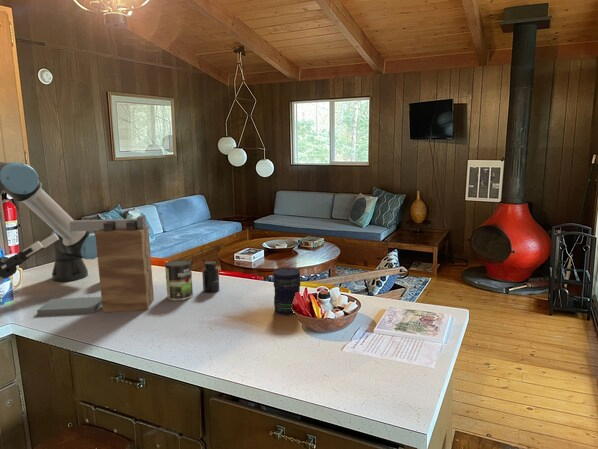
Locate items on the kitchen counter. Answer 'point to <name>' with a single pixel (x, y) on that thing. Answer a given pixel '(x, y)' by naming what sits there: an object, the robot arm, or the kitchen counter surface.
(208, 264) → the supplement bottle
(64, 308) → the gray block
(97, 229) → the grey bar
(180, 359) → the kitchen counter surface
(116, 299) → the brown wooden tall block
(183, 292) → the coffee can
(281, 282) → the storage jar
